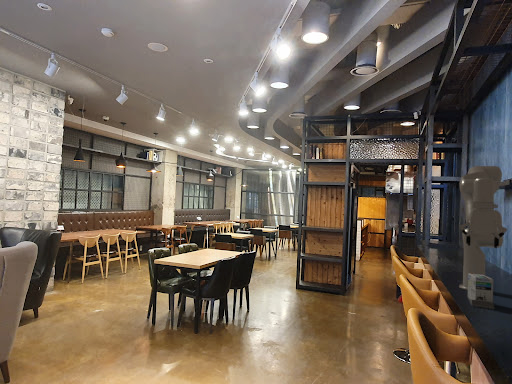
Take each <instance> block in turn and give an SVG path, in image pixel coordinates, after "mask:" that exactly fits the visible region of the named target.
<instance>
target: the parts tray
mask: <svg viewBox="0 0 512 384" xmlns="http://www.w3.org/2000/svg"><path fill="white" fill-rule="evenodd" d="M468 301H469V303H470V305H471V307H474V308H481V307H482V308H481V309H488V308H489V310H495V303H494V301H493V302H486V301H479V300H471V299H469V298H468Z"/></svg>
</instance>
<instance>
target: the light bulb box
mask: <svg viewBox="0 0 512 384" xmlns="http://www.w3.org/2000/svg"><path fill="white" fill-rule="evenodd" d="M467 298H468V300H469V299H471V300H479V301H486V302H493V303H494V278H492V277H489V276H487V275H486V274H485V275H479V274H470V273H468V290H467Z"/></svg>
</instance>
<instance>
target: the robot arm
mask: <svg viewBox="0 0 512 384" xmlns="http://www.w3.org/2000/svg"><path fill="white" fill-rule="evenodd" d="M502 178H503V172H502V170H501V168H500V167H499V166H497V165H475V166H472V167H470V168H469V169H468V172H467V174H464V175H463V176H461V177H460V179H459V184H458V185H459V191H460V193H461V196H462V199H463V201H464V205H465V207H464V211H465V223H463V224H460V225H459V226H458V227H459V229H460V230H461V232H462V235H461V236H462V243H463V269H462V274H463V275H462V284H459V288H460V289H461V290H466V291H468V273H470V274H479V275H485V276H486V254H485V252H484V251H483V250H482V249H481V248H491V249H497V248H501V247H503V244H504V235H505V234H506V232H507V231H508V228H507V227H504V226H503V218H502V214H501V212H500V211H499V210H496V209H497V208H498V207H499V205H498V204H496V203H495V202H494V201H495V194H496V193H497V191H499V189H500V184H501V181H502ZM466 227H467V228H466Z"/></svg>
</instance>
